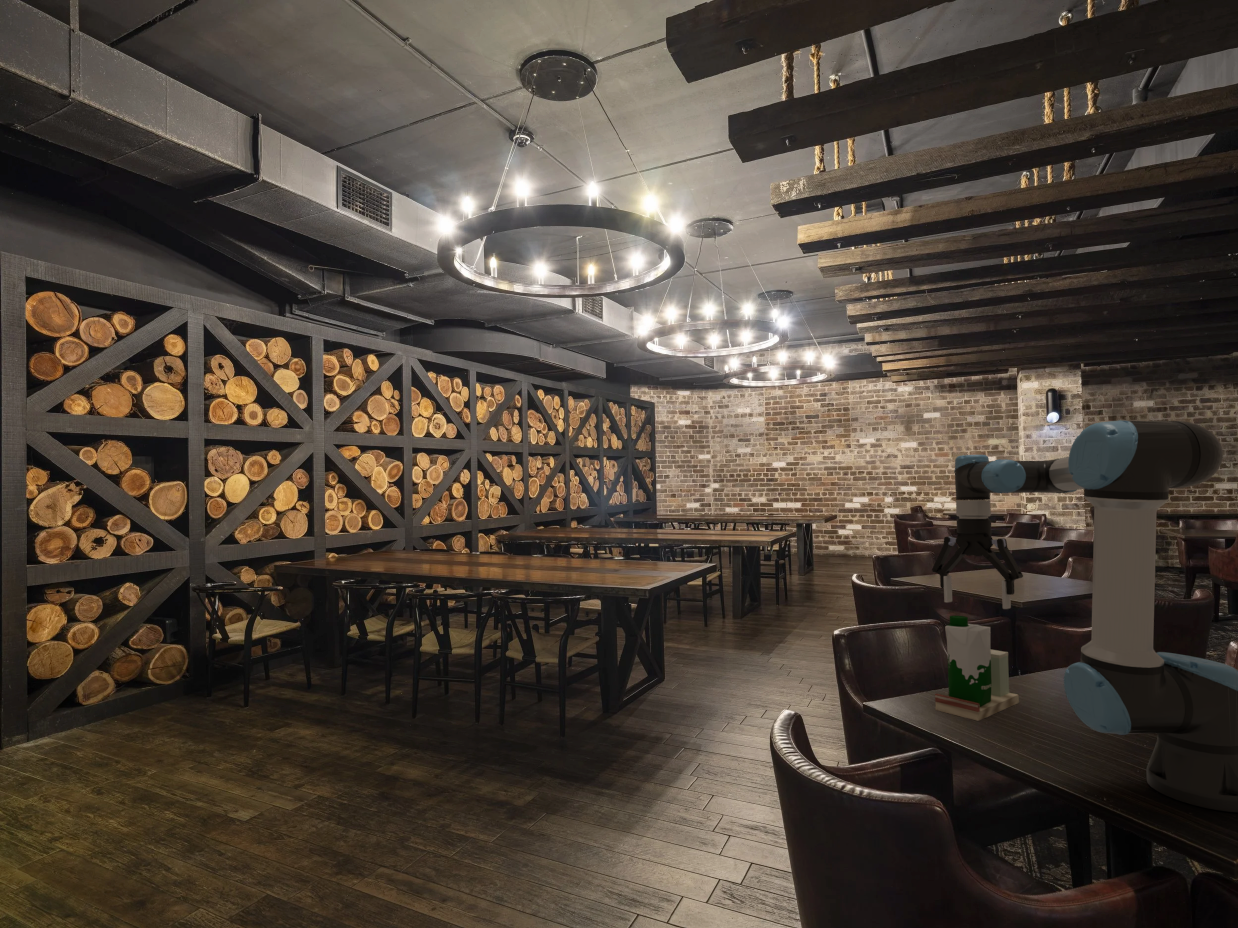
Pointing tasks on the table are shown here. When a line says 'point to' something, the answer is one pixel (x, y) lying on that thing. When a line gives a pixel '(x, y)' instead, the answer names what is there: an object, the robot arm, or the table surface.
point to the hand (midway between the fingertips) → (976, 605)
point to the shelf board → (974, 706)
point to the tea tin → (999, 673)
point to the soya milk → (969, 660)
